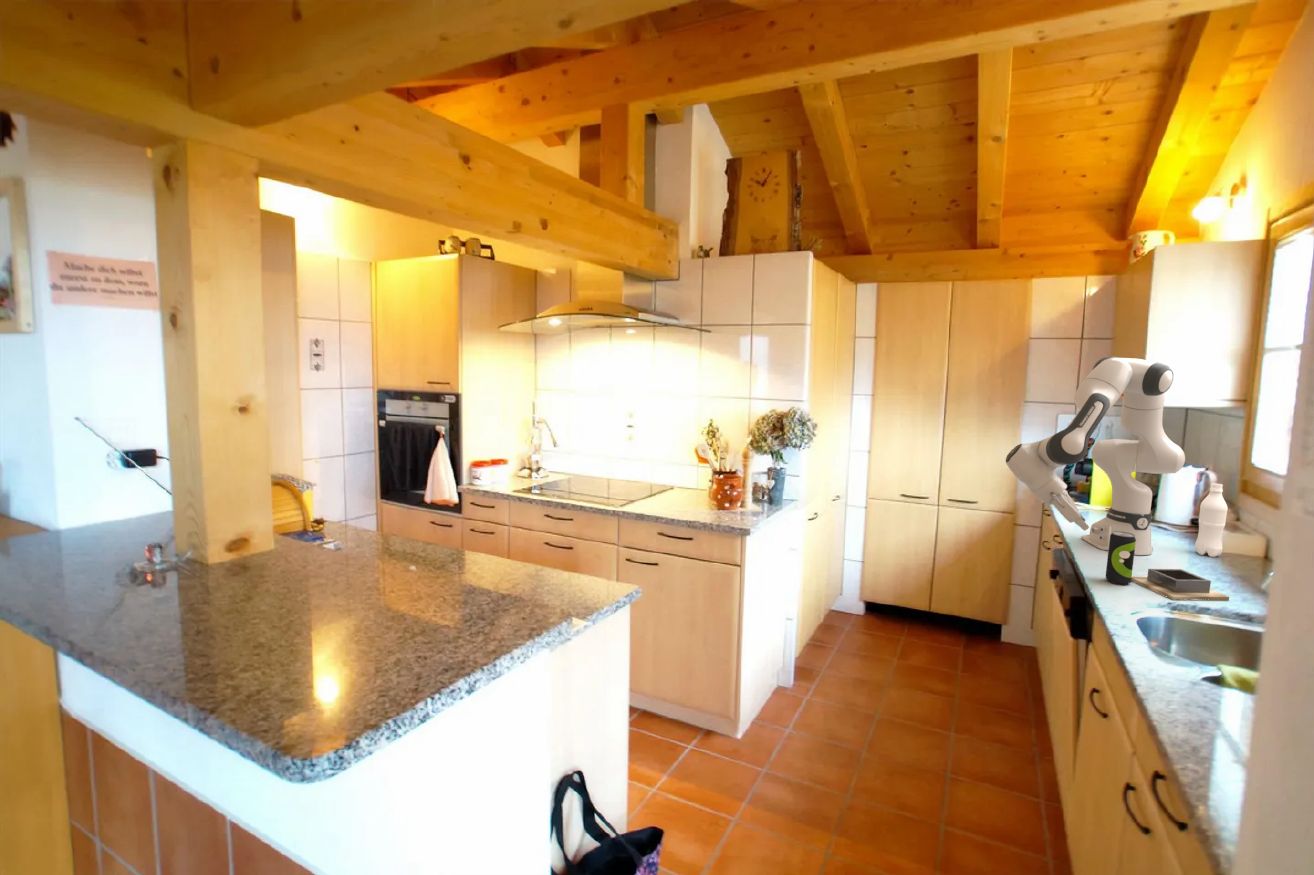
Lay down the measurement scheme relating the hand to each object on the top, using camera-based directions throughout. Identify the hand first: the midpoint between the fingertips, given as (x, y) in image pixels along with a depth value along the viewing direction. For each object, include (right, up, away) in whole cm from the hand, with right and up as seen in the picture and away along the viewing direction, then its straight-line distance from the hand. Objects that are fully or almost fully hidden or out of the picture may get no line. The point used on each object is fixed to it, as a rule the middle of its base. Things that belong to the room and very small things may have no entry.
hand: (1085, 525), depth 192 cm
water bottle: (+61, -14, +26) cm, 67 cm away
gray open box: (+21, -18, -8) cm, 29 cm away
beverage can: (+8, -17, -3) cm, 19 cm away
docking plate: (+21, -18, -8) cm, 29 cm away
